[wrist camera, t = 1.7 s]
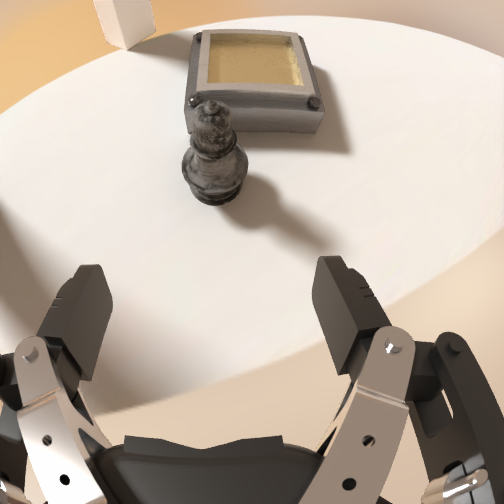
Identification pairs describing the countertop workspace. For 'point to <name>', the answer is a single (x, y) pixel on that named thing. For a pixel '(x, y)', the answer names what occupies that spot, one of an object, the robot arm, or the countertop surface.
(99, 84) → the countertop surface
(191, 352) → the countertop surface
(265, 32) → the grey square box
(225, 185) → the grey stone figure
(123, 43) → the milk
